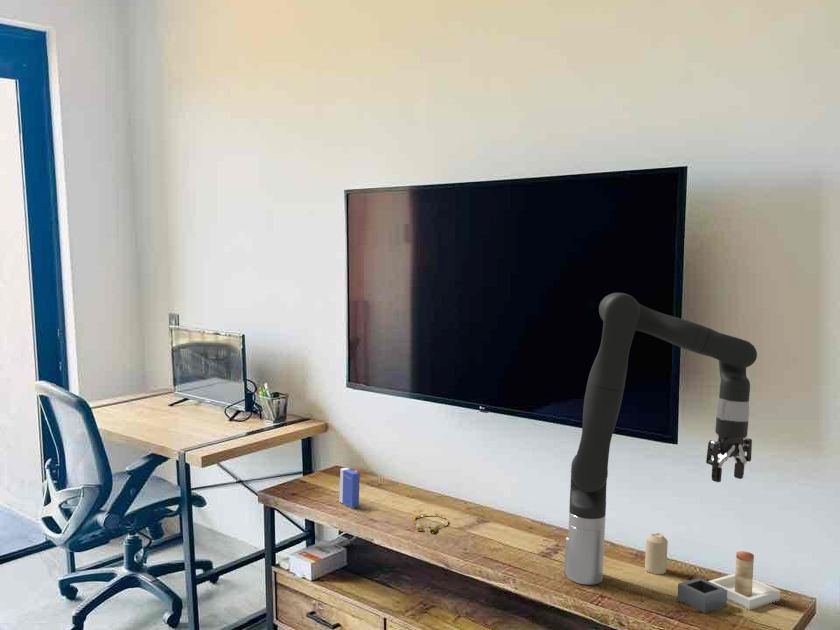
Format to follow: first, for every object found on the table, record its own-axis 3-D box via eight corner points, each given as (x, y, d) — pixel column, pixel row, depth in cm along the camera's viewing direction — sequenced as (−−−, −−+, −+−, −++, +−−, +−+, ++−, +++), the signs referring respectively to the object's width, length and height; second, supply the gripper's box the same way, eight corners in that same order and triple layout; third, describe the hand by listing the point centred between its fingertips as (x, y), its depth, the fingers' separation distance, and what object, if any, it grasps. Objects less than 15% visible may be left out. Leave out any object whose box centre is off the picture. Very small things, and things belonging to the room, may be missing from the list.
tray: (707, 590, 185) (707, 581, 185) (737, 581, 191) (737, 572, 191) (749, 610, 175) (749, 600, 175) (779, 600, 181) (780, 590, 181)
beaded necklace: (398, 528, 225) (399, 521, 225) (426, 514, 238) (427, 508, 238) (431, 536, 218) (432, 530, 218) (458, 522, 231) (459, 516, 231)
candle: (654, 565, 201) (655, 529, 200) (670, 572, 196) (672, 535, 196) (640, 568, 198) (642, 532, 197) (656, 576, 193) (658, 539, 193)
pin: (731, 591, 184) (733, 552, 183) (741, 588, 185) (743, 550, 185) (744, 597, 180) (747, 558, 180) (755, 594, 182) (757, 555, 181)
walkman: (358, 507, 242) (359, 471, 241) (352, 508, 240) (352, 473, 240) (345, 501, 248) (346, 466, 247) (339, 502, 246) (339, 467, 246)
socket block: (677, 599, 179) (678, 583, 179) (699, 593, 184) (699, 577, 183) (704, 612, 173) (705, 596, 172) (726, 606, 177) (727, 590, 176)
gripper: (737, 412, 192) (733, 473, 193) (701, 415, 185) (696, 478, 186) (763, 418, 185) (758, 481, 186) (726, 421, 178) (721, 486, 179)
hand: (727, 479), depth 186 cm, fingers open, 8 cm apart
